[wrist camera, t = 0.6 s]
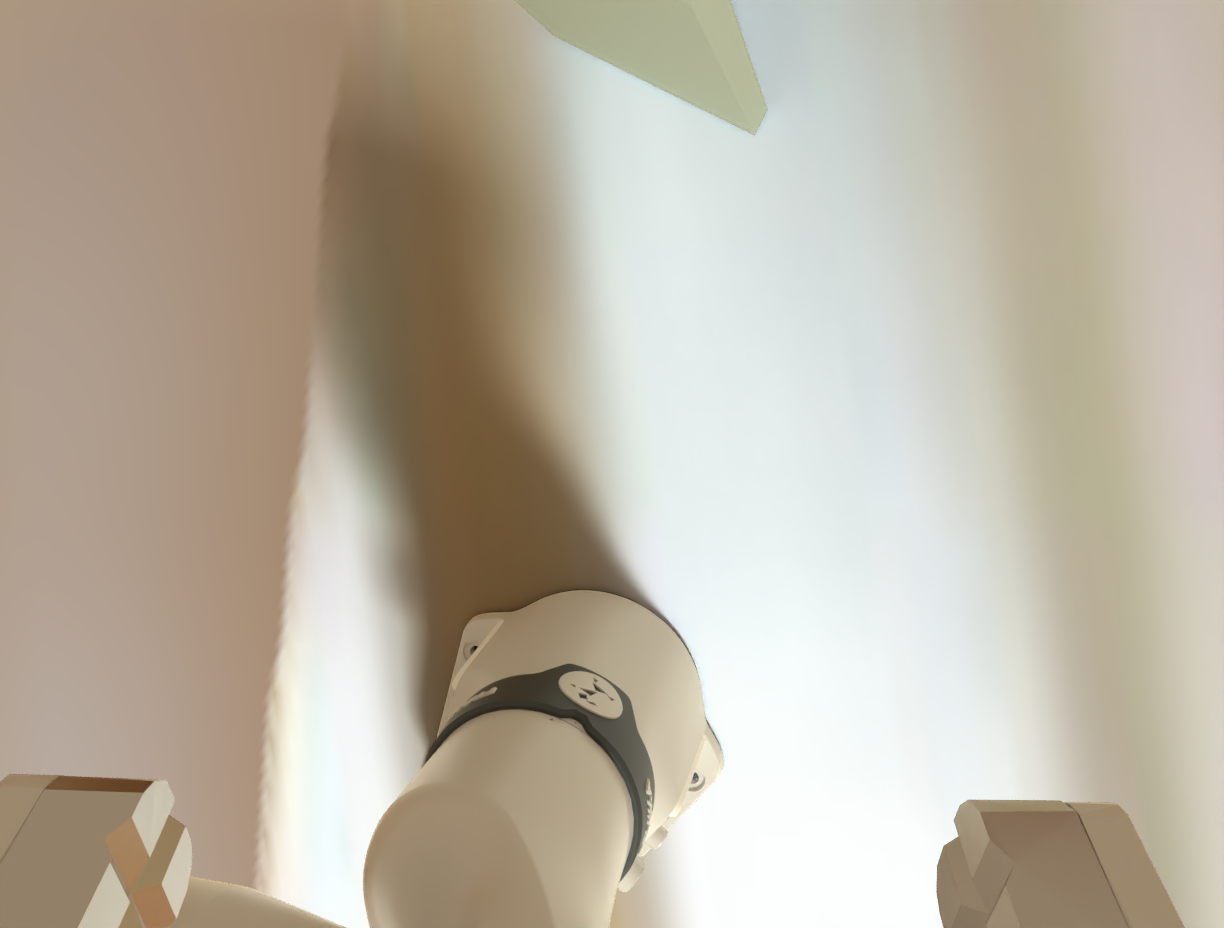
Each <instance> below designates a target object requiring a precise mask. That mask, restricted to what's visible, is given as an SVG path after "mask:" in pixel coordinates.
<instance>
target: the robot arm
mask: <svg viewBox="0 0 1224 928" xmlns="http://www.w3.org/2000/svg"><path fill="white" fill-rule="evenodd" d="M474 646H478V648H477V649H476V650H474ZM723 766H724V756H723V753H722V750H721V748H720V746H719V744H718V742H717V740H716V738H715V736H714V735H713V733H712V731H711V729H710V728H709V726H708V724H707V722H706V718H705V713H704V704H703V695H702V688H701V683H700V679H699V676H698V673H697V670H696V667H695V665H694V662H693V660H692V658H691V656H690V654H689V652H688V651H687V649H686V647H685V646H684V644H683V643H682V641H681V640H680V639H679V637H678V636H677V635H676V634H675V633H674V631H673V630H672V629H671V628H670V627H669V626H668V625H667V624H666V623H665V622H664V621H662V620H661V619H660V618H659V617H658V616H656V615H655V614H654V613H652V612H651V611H649V610H648V609H646V608H644V607H643V606H641V605H639V604H637V603H635V602H633V601H631V600H629V599H626V598H624V597H621V596H618V595H614V594H611V593H606V592H600V591H591V590H576V591H567V592H561V593H557V594H553V595H550V596H547V597H545V598H542V599H540V600H538V601H536V602H534V603H532V604H530V605H528V606H526V607H524V608H522V609H519V610H516V611H513V612H492V613H484V614H479V615H476V616H474V617H473V618H472V619H471V620H470V621H469V622H468V624H467V625H466V627H465V629H464V631H463V634H462V638H461V642H460V646H459V650H458V654H457V658H456V662H455V666H454V670H453V674H452V678H451V682H450V686H449V690H448V694H447V698H446V702H445V706H444V710H443V714H442V718H441V722H440V726H439V730H438V734H437V738H436V741H435V742H434V744H433V745H432V747H431V749H430V751H429V754H428V757H427V759H426V762H425V765H424V766H423V767H422V769H421V770H420V771H419V772H418V773H417V774H416V776H415V777H414V778H413V779H412V781H411V782H410V783H409V784H408V785H407V787H406V788H405V789H404V790H403V791H402V793H401V794H400V795H399V796H398V797H397V799H396V800H395V801H394V802H393V804H392V805H391V806H390V807H389V808H388V810H387V811H386V812H385V813H384V815H383V816H382V818H381V819H380V821H379V823H378V825H377V827H376V829H375V831H374V833H373V836H372V838H371V841H370V844H369V847H368V850H367V854H366V858H365V864H364V871H363V894H364V902H365V907H366V912H367V917H368V922H369V926H370V928H609V925H610V920H611V914H612V909H613V905H614V901H615V897H616V892H617V889H618V890H620V891H621V892H624V893H626V892H628V891H629V890H630V889H631V888H632V886H633V885H634V884H635V883H636V881H637V880H638V878H639V877H640V875H641V873H642V871H643V869H644V867H645V861H644V859H643V858H642V857H643V856H644V855H645V854H646V853H647V852H648V851H649V850H650V849H651V848H652V849H653V850H656V849H657V848H659V846H660V845H661V844H662V843H663V841H664V840H665V838H666V836H667V833H668V830H669V829H670V828H671V827H672V825H673V824H674V823H675V822H676V821H677V820H678V819H679V818H680V817H681V816H682V815H683V814H684V813H685V812H686V811H687V810H688V809H689V808H690V807H691V806H692V805H693V804H694V802H695V801H696V800H697V799H698V798H699V797H700V796H701V795H702V794H703V793H704V792H705V791H706V790H707V789H708V788H709V787H710V786H711V785H712V784H713V783H714V782H715V780H716V779H717V778H718V777H719V775H720V773H721V771H722V769H723ZM694 772H695V773H697V774H698V776H699V777H698V778H693V775H694ZM174 802H175V798H174V796H173V794H172V792H171V789H170V787H169V785H168V783H167V781H166V780H154V779H153V780H152V779H128V778H102V777H76V776H63V775H28V774H9V775H8V776H7V777H6V778H4V779H3V780H2V781H1V782H0V928H346V927H343V926H341V925H338V924H336V923H333V922H331V921H329V920H326V919H324V918H321V917H319V916H317V915H314V914H312V913H309V912H307V911H305V910H302V909H300V908H297V907H295V906H293V905H290V904H288V903H285V902H283V901H281V900H278V899H276V898H273V897H271V896H269V895H266V894H264V893H261V892H259V891H257V890H254V889H252V888H249V887H245V886H240V885H235V884H229V883H224V882H218V881H213V880H208V879H202V878H196V877H191V876H190V871H191V866H192V850H191V840H190V837H189V835H188V832H187V829H186V826H185V825H183V824H182V823H180V822H179V821H177V820H176V819H174V818H173V817H171V816H170V815H169V813H170V811H171V808H172V806H173V804H174ZM954 822H955V826H956V829H957V832H958V835H959V837H957V838H955V839H954V840H952V841H951V842H949V843H948V844H946V845H944V847H943V850H942V853H941V856H940V859H939V862H938V865H937V898H938V904H939V911H940V916H941V920H942V923H943V927H944V928H1185V927H1184V925H1183V923H1182V921H1181V919H1180V917H1179V915H1178V913H1177V911H1176V909H1175V907H1174V905H1173V903H1172V901H1171V899H1170V897H1169V895H1168V893H1167V891H1166V889H1165V887H1164V885H1163V883H1162V881H1161V879H1160V877H1159V875H1158V873H1157V871H1156V869H1155V867H1154V865H1153V863H1152V862H1151V860H1150V858H1149V856H1148V854H1147V852H1146V850H1145V848H1144V846H1143V844H1142V842H1141V840H1140V838H1139V836H1138V834H1137V832H1136V830H1135V828H1134V826H1133V824H1132V822H1131V820H1130V818H1129V816H1128V814H1127V813H1126V812H1125V811H1124V810H1123V809H1122V808H1121V807H1120V806H1119V805H1117V804H1112V803H1080V802H1062V801H1046V800H967V801H966V802H964V803H963V804H961V805H960V806H959V809H958V811H957V814H956V816H955V818H954Z"/></svg>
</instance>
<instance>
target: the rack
mask: <svg viewBox="0 0 1224 928" xmlns="http://www.w3.org/2000/svg"><path fill="white" fill-rule="evenodd" d="M515 1H516V2H517V3H518V4H519V5H520V6H521V7H522V8H524V9H525V10H526V11H527V12H528V13H529V14H530V15H531V16H532V17H533V18H535V19H536V20H537V21H538V22H539V23H540V24H541V25H542V26H543V27H545V28H546V29H547V30H548V31H549V32H550V33H551V34H552V35H553V36H555V37H557V38H559V39H562V40H564V41H566V42H568V43H570V44H572V45H574V46H576V47H578V48H580V49H582V50H584V51H586V52H588V53H590V54H592V55H594V56H596V57H598V58H600V59H602V60H604V61H606V62H608V63H610V64H612V65H614V66H616V67H618V68H620V69H622V70H624V71H626V72H628V73H630V74H632V75H634V76H636V77H638V78H640V79H642V80H644V81H646V82H648V83H650V84H652V85H654V86H656V87H658V88H660V89H662V90H664V91H666V92H668V93H670V94H672V95H674V96H677V97H679V98H681V99H683V100H685V101H687V102H689V103H691V104H693V105H695V106H697V107H699V108H701V109H703V110H705V111H707V112H709V113H711V114H713V115H715V116H717V117H719V118H721V119H723V120H725V121H727V122H729V123H731V124H733V125H735V126H737V127H739V128H741V129H743V130H745V131H747V132H749V133H751V134H753V135H755V133H756V131H757V129H758V127H759V125H760V123H761V121H762V119H763V117H764V115H765V113H766V111H767V107H766V104H765V101H764V98H763V95H762V92H761V89H760V86H759V83H758V80H757V78H756V75H755V72H754V69H753V66H752V63H751V60H750V57H749V54H748V51H747V48H746V45H745V42H744V40H743V37H742V34H741V31H740V28H739V25H738V22H737V19H736V16H735V13H734V10H733V7H732V5H731V2H730V0H515Z"/></svg>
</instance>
